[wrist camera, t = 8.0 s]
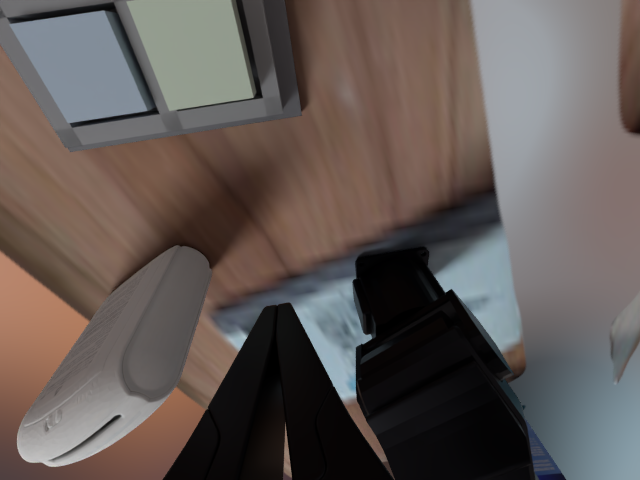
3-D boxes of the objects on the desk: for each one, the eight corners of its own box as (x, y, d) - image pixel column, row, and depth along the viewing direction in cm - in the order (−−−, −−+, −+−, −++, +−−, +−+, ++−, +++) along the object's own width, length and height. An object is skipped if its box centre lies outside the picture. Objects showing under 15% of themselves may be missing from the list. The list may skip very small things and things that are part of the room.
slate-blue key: (125, 14, 14) (104, 10, 12) (161, 104, 16) (147, 110, 14) (41, 26, 14) (9, 24, 12) (89, 115, 16) (67, 123, 14)
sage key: (234, -6, 13) (227, -14, 11) (256, 92, 15) (253, 97, 14) (146, 7, 13) (126, 1, 11) (181, 103, 15) (169, 110, 13)
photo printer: (143, 323, 27) (58, 494, 16) (98, 299, 24) (-31, 478, 14) (222, 266, 24) (180, 427, 14) (180, 233, 22) (93, 395, 12)
